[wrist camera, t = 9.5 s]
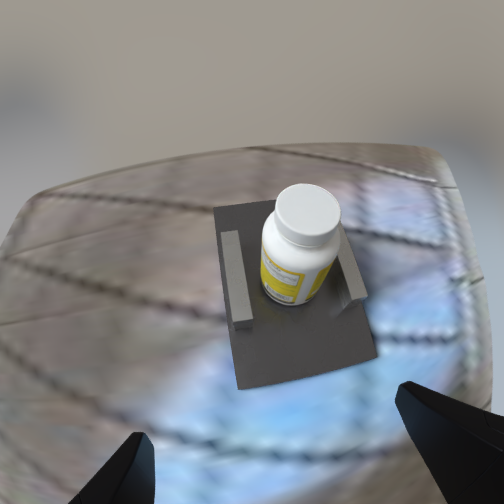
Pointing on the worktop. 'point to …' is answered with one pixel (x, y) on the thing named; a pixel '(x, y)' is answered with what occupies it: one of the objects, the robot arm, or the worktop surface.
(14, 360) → the worktop surface
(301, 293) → the supplement bottle
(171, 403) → the worktop surface
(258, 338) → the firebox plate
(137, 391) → the worktop surface
